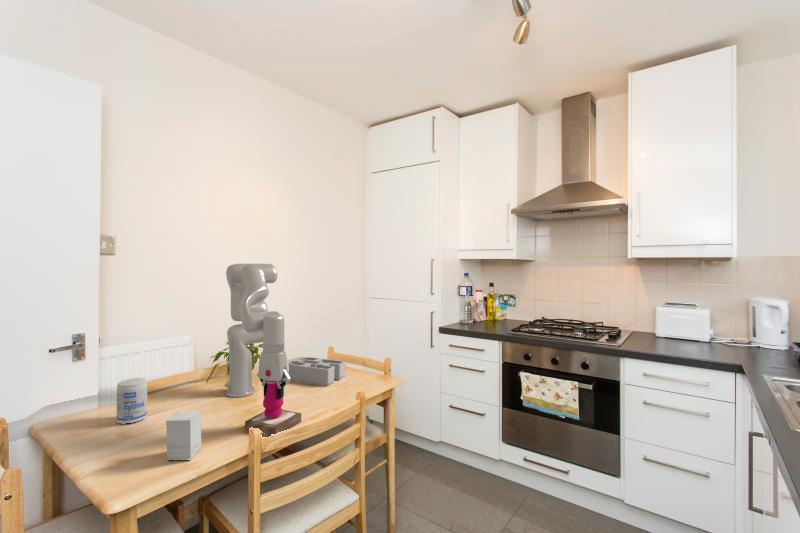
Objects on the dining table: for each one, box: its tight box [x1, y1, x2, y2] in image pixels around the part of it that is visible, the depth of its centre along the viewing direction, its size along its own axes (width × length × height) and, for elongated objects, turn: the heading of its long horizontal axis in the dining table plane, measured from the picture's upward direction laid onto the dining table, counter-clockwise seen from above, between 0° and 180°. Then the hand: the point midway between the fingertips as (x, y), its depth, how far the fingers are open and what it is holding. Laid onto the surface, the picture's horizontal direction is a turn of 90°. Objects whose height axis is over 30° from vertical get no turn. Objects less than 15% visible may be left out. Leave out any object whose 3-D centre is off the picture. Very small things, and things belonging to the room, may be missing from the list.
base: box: [244, 409, 302, 436], centre depth 142 cm, size 14×14×3 cm
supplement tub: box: [116, 377, 148, 425], centre depth 147 cm, size 10×10×15 cm
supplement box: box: [165, 410, 202, 461], centre depth 121 cm, size 7×7×13 cm
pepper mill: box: [262, 370, 284, 417], centre depth 142 cm, size 7×7×20 cm
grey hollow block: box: [287, 356, 347, 387], centre depth 199 cm, size 17×28×9 cm, turn 67°
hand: (273, 396), depth 142 cm, fingers closed on pepper mill, 5 cm apart
